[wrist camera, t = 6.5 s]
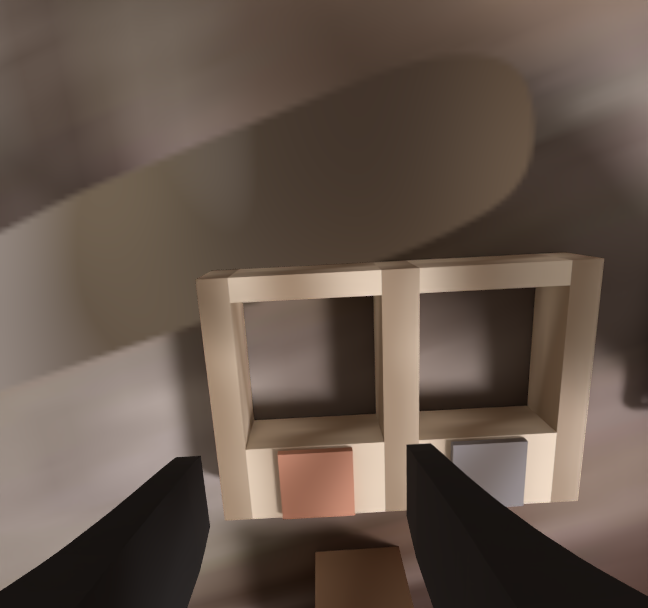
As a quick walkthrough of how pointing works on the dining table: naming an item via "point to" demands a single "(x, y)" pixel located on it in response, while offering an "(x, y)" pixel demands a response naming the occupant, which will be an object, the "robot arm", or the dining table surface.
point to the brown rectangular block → (361, 579)
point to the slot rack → (402, 390)
